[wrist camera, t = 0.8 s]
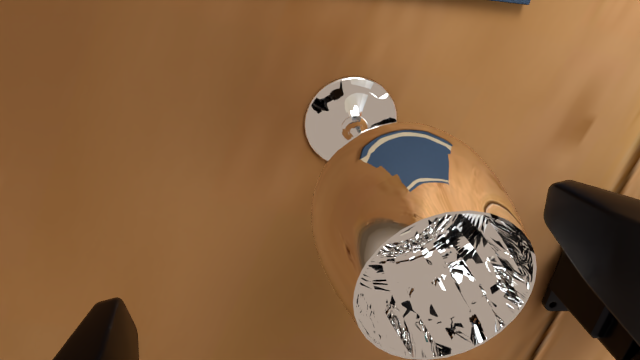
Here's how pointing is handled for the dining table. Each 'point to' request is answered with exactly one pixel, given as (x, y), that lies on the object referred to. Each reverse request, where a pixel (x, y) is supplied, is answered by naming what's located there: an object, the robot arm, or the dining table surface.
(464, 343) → the wineglass
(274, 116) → the dining table surface
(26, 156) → the dining table surface
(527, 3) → the napkin
